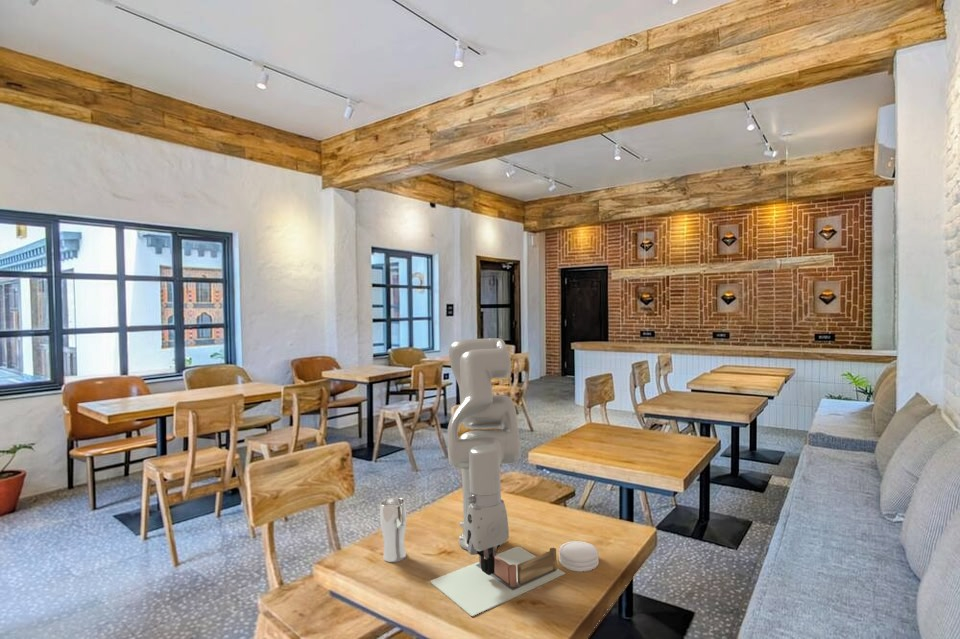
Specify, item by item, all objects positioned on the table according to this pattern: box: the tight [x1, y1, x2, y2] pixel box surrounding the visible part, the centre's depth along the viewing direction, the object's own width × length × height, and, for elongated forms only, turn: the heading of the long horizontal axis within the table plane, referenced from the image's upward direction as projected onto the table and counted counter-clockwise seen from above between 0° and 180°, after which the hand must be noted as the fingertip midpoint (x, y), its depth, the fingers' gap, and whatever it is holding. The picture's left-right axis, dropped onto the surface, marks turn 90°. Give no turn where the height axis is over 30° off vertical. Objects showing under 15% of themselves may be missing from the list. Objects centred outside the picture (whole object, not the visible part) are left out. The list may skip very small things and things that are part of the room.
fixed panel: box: [517, 547, 558, 584], centre depth 127 cm, size 2×12×5 cm, turn 126°
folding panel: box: [478, 555, 517, 587], centre depth 128 cm, size 15×2×5 cm, turn 34°
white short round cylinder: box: [558, 540, 600, 573], centre depth 134 cm, size 10×10×4 cm
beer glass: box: [379, 497, 407, 563], centre depth 140 cm, size 7×7×15 cm
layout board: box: [429, 545, 566, 617], centre depth 128 cm, size 18×28×1 cm, turn 126°
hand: (488, 572), depth 127 cm, fingers closed
